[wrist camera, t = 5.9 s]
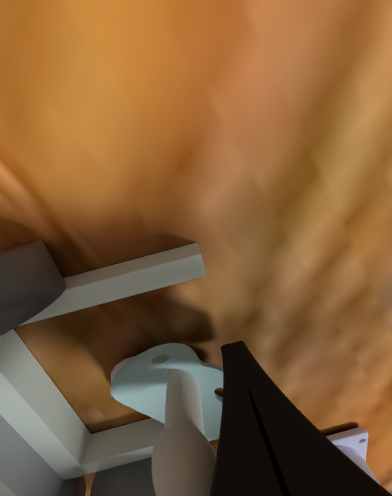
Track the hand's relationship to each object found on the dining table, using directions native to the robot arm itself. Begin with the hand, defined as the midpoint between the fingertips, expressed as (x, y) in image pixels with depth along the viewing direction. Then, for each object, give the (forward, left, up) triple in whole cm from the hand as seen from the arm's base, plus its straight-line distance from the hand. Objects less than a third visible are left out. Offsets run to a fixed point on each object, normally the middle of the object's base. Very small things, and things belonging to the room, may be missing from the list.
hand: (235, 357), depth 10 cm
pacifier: (-2, +4, -2) cm, 4 cm away
